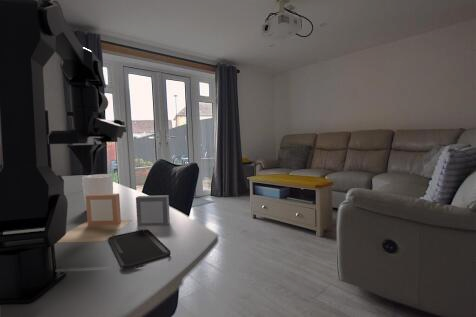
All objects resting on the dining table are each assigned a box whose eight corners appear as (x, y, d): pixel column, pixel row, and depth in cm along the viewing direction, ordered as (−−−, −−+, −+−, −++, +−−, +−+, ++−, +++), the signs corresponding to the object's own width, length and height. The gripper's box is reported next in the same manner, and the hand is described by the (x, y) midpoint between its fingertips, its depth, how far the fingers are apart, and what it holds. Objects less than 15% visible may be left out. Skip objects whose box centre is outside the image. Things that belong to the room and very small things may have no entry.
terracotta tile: (117, 224, 58) (115, 195, 57) (87, 225, 58) (85, 195, 57) (121, 222, 59) (119, 193, 59) (91, 223, 59) (89, 194, 59)
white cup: (120, 206, 76) (118, 173, 75) (103, 213, 68) (101, 177, 67) (96, 206, 77) (94, 174, 76) (77, 213, 69) (74, 178, 68)
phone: (147, 228, 54) (172, 252, 42) (147, 233, 54) (172, 259, 42) (106, 237, 49) (121, 267, 37) (107, 242, 49) (122, 274, 37)
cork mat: (103, 243, 48) (103, 241, 48) (47, 244, 48) (47, 242, 48) (132, 221, 61) (132, 219, 61) (87, 222, 61) (87, 220, 61)
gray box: (167, 226, 57) (166, 196, 56) (137, 227, 57) (135, 197, 56) (169, 224, 58) (168, 195, 58) (140, 225, 58) (138, 195, 58)
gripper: (98, 102, 50) (103, 178, 52) (134, 111, 69) (137, 167, 70) (42, 103, 50) (49, 179, 51) (94, 112, 69) (98, 168, 70)
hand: (90, 172), depth 61 cm, fingers closed
